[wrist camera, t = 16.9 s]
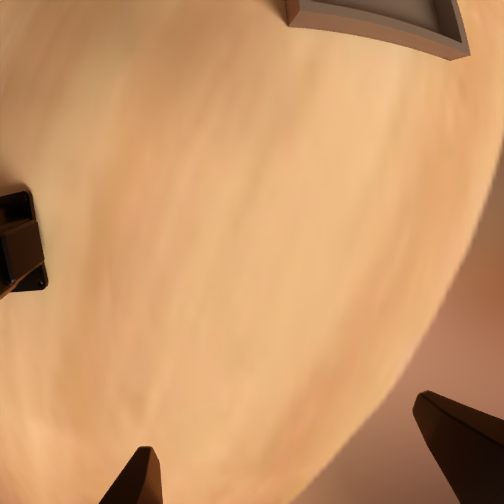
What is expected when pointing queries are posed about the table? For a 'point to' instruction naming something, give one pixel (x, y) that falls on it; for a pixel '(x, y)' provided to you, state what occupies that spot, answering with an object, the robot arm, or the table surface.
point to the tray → (388, 22)
